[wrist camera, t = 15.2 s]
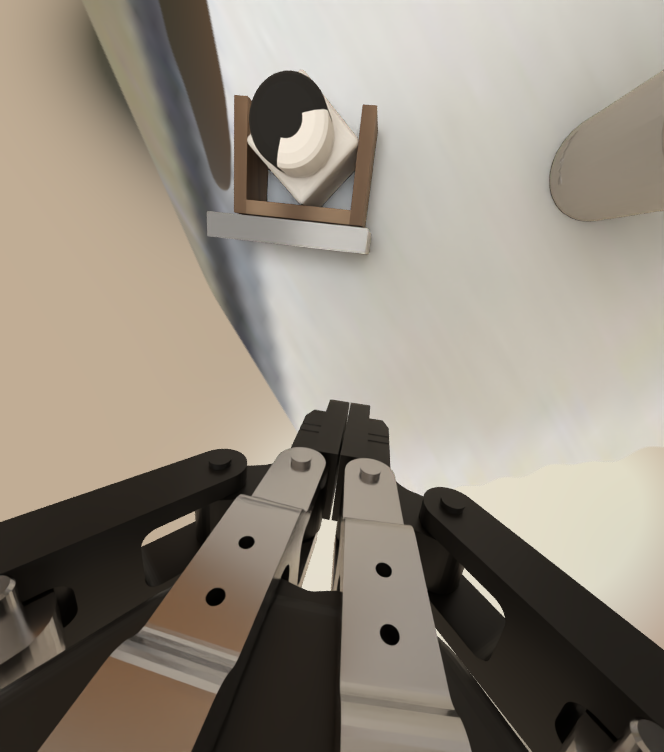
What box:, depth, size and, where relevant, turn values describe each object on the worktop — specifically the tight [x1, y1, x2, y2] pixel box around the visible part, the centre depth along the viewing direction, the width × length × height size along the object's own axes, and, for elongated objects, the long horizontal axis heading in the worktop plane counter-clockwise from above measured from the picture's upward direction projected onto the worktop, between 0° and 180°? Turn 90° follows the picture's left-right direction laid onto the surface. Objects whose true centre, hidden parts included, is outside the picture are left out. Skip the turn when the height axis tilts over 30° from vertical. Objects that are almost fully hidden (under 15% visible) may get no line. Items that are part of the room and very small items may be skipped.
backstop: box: [207, 211, 371, 254], centre depth 33 cm, size 14×2×10 cm, turn 84°
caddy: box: [234, 95, 378, 228], centre depth 33 cm, size 12×9×6 cm
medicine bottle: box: [247, 70, 358, 207], centre depth 30 cm, size 7×7×12 cm
